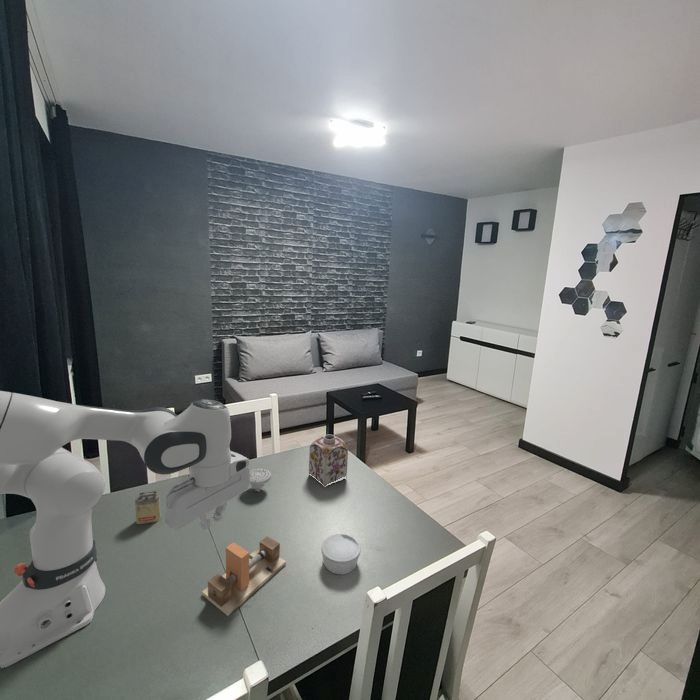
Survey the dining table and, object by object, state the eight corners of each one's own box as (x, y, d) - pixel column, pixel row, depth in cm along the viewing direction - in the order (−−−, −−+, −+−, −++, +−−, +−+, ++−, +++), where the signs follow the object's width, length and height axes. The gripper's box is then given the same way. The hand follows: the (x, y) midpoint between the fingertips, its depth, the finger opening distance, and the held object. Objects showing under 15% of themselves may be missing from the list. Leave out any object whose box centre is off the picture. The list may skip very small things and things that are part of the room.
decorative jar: (330, 467, 157) (332, 428, 153) (347, 479, 148) (350, 438, 145) (307, 475, 149) (309, 434, 146) (323, 488, 141) (325, 446, 137)
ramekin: (366, 558, 107) (367, 543, 106) (346, 584, 97) (347, 568, 96) (334, 543, 112) (335, 528, 111) (313, 566, 103) (313, 550, 102)
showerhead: (241, 479, 130) (248, 465, 140) (241, 497, 132) (248, 482, 141) (268, 480, 131) (272, 466, 140) (267, 498, 132) (272, 483, 142)
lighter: (134, 525, 114) (133, 497, 112) (137, 517, 118) (135, 490, 116) (160, 521, 117) (158, 494, 115) (161, 514, 120) (160, 487, 118)
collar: (241, 591, 92) (241, 558, 90) (226, 579, 95) (225, 547, 93) (248, 584, 94) (249, 552, 92) (233, 573, 97) (233, 542, 95)
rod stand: (227, 616, 86) (227, 596, 85) (202, 594, 92) (201, 576, 91) (285, 564, 103) (286, 547, 102) (261, 548, 108) (261, 532, 107)
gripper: (175, 496, 71) (177, 556, 74) (254, 457, 88) (253, 507, 91) (157, 484, 74) (160, 543, 77) (237, 449, 91) (237, 498, 94)
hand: (211, 523), depth 84 cm, fingers closed
